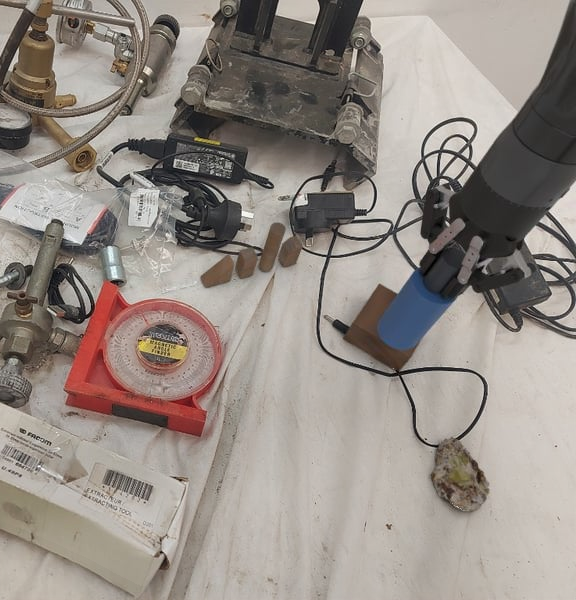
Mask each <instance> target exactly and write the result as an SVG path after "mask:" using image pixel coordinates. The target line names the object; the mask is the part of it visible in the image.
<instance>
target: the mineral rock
mask: <svg viewBox="0 0 576 600" xmlns="http://www.w3.org/2000/svg"><path fill="white" fill-rule="evenodd" d="M473 458H474V457H472V455H471V452H470V451H468V450H467V448H466V447H465V445H463V443H462V442H461V440H458V439H457V438H456V437H452V436H451V437H449V438H445V439H443V441H442V442H440V443H439V444H438V447H437V449H436V451H435V459H434V461H435V470H434V471H431V473H430V475H431V480H432V483H433V488H435V490H436V492H437V495H438V496H439V497H440V498H441V499H444V500H448V501H449V500H450V502H451V503H453V505H455V506H458V507H459V508H461V509H462V510H465V512H470V513H472V512H475V511H478V510H480V508H481V507H482V505H483V504H484V503H485V502H486V501H487V499H488V497H487V496H488V495H490V492H491V490H490V488H489V486H490V481H488V480H487V477H486V475H485V472H484V471H483V470H482V469H481V468H480V467H479V463H478V462H477V460H476V459H475V458H474V459H475V460H474V459H473ZM450 502H449V503H450ZM451 503H450V504H451ZM453 505H452V506H453ZM467 510H469V511H467Z"/></svg>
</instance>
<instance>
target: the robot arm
mask: <svg viewBox="0 0 576 600" xmlns="http://www.w3.org/2000/svg"><path fill="white" fill-rule="evenodd" d="M575 183H576V0H569V1H568V4H567V7H566V10H565V13H564V16H563V19H562V22H561V25H560V27H559V31H558V34H557V37H556V39H555V41H554V44H553V47H552V50H551V52H550V54H549V57H548V60H547V63H546V66H545V68H544V70H543V74H542V76H541V78H540V80H539V82H538V83H537V84H536V86H535V87H534V88H533V90H532V91H531V92H530V94H529V96H527V98H526V100H525V101H524V103H522V105H521V107H519V110H518V111H517V113H516V114H515V115H514V117H513V118H512V120H511V121H510V122H509V123H508V124H507V125H506V126H505V128H503V129H502V130H501V132H500V133H499V134H498V135H497V137H496V138H495V139H494V141H493V142H492V144H491V145H490V147H489V148H488V150H487V151H486V152H485V153H484V155H483V157H482V158H481V159H480V161H479V162H478V164H477V165H476V166H475V168H474V170H473V171H472V172H471V174H470V175H469V177H468V178H467V180H466V181H465V182H464V184H463V186H462V187H461V189H460V190H459V191H458V192H457V191H454V190H452V186H451V184H449V183H446V182H444V183H442V184H440V185H437V186H435V187H433V188H430V189H428V190H426V192H425V197H424V204H423V210H422V219H421V225H420V231H419V234H420V237H421V238H422V239H424V240H427V243H428V249H427V251H426V252H425V254H424V255H423V257H421V259H420V261H419V264H418V267H421V268H420V270H419V272H420V273H421V274H422V276H424V275H426V274H427V272H428V271H429V270H430V268H431V267H432V266H433V264H434V263H435V262H436V260H437V259H438V258H439V256H440V255H441V254H442V252H443V251H444V250H445V249H447V248H452V246H454V245H455V244H458V245H460V246H461V247H462V248H463V251H464V252H465V254H466V255H465V257H464V259H463V261H462V265H463V266H462V268H461V270H460V272H459V274H458V275H457V276H455V277H454V278H453V279H452V280H451V281H450V282H449V284H448V285H447V286H446V287H445V289H444V290H443V291H442V292H441V293H440V295H441V296H442V297H443V298H444V299H446V298H448V297H449V298H450V299H453V298H455V297H457V296H458V297H459V296H461V295H463V294H464V293H465V292H466V291H467V290H468V288H469V287H471V289H472V291H473V292H474V293H476V294H481V293H486V292H488V291H492V290H495V289H499V288H503V287H506V286H509V285H513V284H517V283H518V282H521V281H522V280H524V279H527V278H529V277H530V276H532V275H534V274H535V273H536V272H537V267H536V266H535V264H534V263H532V262H526V260H525V259H524V257H523V255H522V253H521V250H522V249H523V247H524V241H525V238H526V237H527V235H529V234H530V232H531V231H532V230H533V229H534V228H535V227H536V226H537V225H538V224H539V222H540V221H541V220H542V219H543V218H544V217H545V216H546V215H547V213H548V212H549V211H550V210H552V208H553V207H554V206H555V205H556V204H557V203H558V201H560V199H563V198H564V197H565V195H566V194H567V193H568V192H569V191H570V189H571V188H572V186H573V185H574V184H575ZM447 216H448V217H449V218H448V219H449V220H448V221H449V225H448V226H447V228H445V227H446V222H447ZM501 258H506V262H505V263H504V264H502V266H501V269H500V270H499V271H498V272H494V273H491V274H488V273H487V274H486V273H485V270H486V268H487V267H488V264H490V263H491V262H492V261H493V260H494V259H501ZM458 297H457V298H458Z"/></svg>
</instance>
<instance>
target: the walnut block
mask: <svg viewBox="0 0 576 600" xmlns="http://www.w3.org/2000/svg"><path fill="white" fill-rule="evenodd" d="M397 294H398V293H397V292H395V291H394V290H392V289H391V288H388V287H387V286H385V285H383V284H382V283H378V284H377V286H376V288H375V289H374V290H373V292H372V293H371V294H370V296H369V298H368V299H367V300H366V302H365V303H364V305H363V306H362V308H361V310H359V313H358V314H357V315H356V317H355V319H354V320H353V321H352V323H351V324H350V326H349V328H348V330H347V331H346V333H345V335H344V336H343V340H344V341H346V342H348V343H349V344H350V345H353V346H354V347H356V348H357V349H359V350H361V351H363V352H364V353H366V354H367V355H369V356H371V357H372V358H374V359H375V360H377V361H379V363H381V364H384V365H385V366H386V367H388V368H390V369H392V368H394V369H395V370H397V371H399V372H401V370H402V369H403V368H404V367H405V366H406V364H407V363H408V361H409V360H411V358H412V357H413V355H414V354H415V351H416V350H417V348H418V347H419V345H420V344H421V341H422V339H421V340H420V341H419V342H418V343H417V344H416V346H414V347H413V348H411V349H408V350H398V349H395V348H392V347H390V346H389V345H387V344H386V343H385V342H384V341H383V340H382V339H381V338H380V336H379V334H378V331H377V324H378V321H379V319H380V318H381V317H382V315H383V314H384V312H385V311H386V310H387V308H388V307H389V306H390V304H391V303H392V301H393V300H394V299H395V297H396V296H397ZM395 370H394V371H395ZM397 371H396V372H397Z"/></svg>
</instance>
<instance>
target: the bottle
mask: <svg viewBox="0 0 576 600" xmlns="http://www.w3.org/2000/svg"><path fill="white" fill-rule="evenodd" d="M465 255H466V252H465V251H464V250H461V249H460V248H458V247H457V248H456V247H449V248H447V249H445V250H444V251H443V252H442V254H441V255H440V256H439V258H438V259H437V260H436V262H435V263H434V264H433V266H432V267H431V268H430V270H429V271H428V272H427V274H426V275H424V276H422V274H421V273H420V272H419V270H420V268H421V267H420V266H418V267H417V268H415V270H414V271H413V272H412V273H411V275H410V276H409V278H408V279H407V280H406V282H405V283H404V284H403V286H402V287H401V289H400V290H399V292H398V293H397V296H396V297H395V299H394V300H393V301H392V303H391V304H390V306H389V307H388V308H387V310H386V311H385V312H384V314H383V315H382V317H381V318H380V319H379V321H378V324H377V331H378V334H379V336H380V338H381V339H382V340H383V341H384V342H385V343H386V344H387V345H389V346H390V347H392V348H395V349H398V350H408V349H411V348H413V347H414V346H416V344H417V343H418V342H419V341H420V340H421V341H422V340H423V338H424V337H425V336H426V334H427V333H428V332H429V331H430V330H431V329H432V328H433V326H434V325H435V324H436V323H437V322H438V321H439V320H440V319H441V318H442V316H443V315H444V314H445V313H446V312H447V311H448V309H449V308H450V307H451V306H452V305H453V303H455V301H456V300H457V299H458V298H459V296H457V297H455V298H453V299H450V298H449V297H448V298H446V299H444V298H443V297H442V296H441V295H440V293H441V292H442V291H443V290H444V289H445V287H446V286H447V285H448V284H449V282H450V281H451V280H452V279H453V278H454V277H455V276H457V275H458V274H459V272H460V270H461V268H462V266H463V265H462V261H463V259H464V257H465ZM421 341H420V342H421Z"/></svg>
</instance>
